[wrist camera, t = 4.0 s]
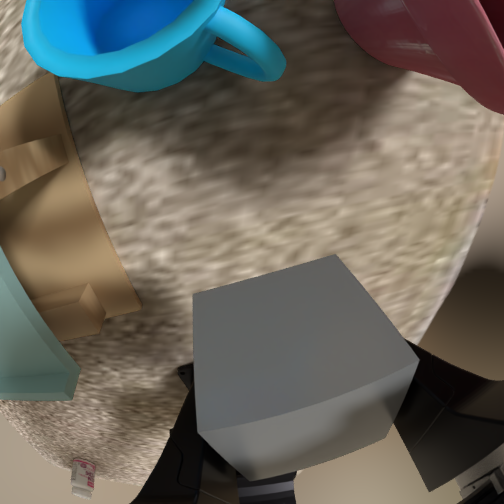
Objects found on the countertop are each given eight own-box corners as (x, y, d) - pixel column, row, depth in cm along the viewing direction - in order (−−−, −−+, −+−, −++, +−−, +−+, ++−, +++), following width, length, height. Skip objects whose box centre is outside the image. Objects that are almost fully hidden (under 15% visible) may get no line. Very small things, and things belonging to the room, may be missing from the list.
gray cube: (338, 347, 12) (385, 437, 8) (231, 378, 12) (249, 481, 7) (335, 253, 9) (419, 359, 5) (192, 294, 9) (197, 432, 5)
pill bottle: (99, 465, 37) (97, 500, 29) (90, 467, 37) (87, 500, 30) (78, 456, 34) (74, 492, 27) (70, 459, 35) (66, 492, 28)
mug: (68, 72, 12) (-8, 60, 5) (132, -29, 9) (100, -92, 2) (232, 138, 16) (256, 158, 9) (295, 35, 14) (359, -6, 7)
